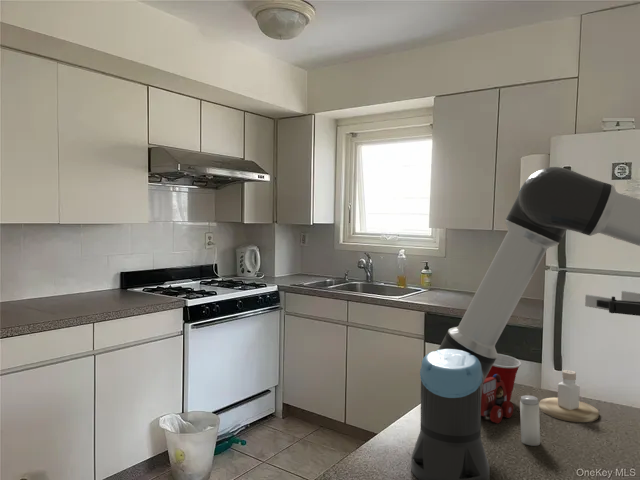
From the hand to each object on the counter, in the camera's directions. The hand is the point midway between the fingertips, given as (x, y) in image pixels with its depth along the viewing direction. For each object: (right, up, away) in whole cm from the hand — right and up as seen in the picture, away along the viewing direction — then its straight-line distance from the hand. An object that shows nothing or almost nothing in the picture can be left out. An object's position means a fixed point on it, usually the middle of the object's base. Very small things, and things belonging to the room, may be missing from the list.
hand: (604, 298), depth 114 cm
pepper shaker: (-3, -31, +12) cm, 33 cm away
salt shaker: (-20, -32, -6) cm, 38 cm away
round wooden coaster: (-3, -31, +12) cm, 34 cm away
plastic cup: (-18, -31, +19) cm, 41 cm away
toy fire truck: (-24, -32, +9) cm, 41 cm away
